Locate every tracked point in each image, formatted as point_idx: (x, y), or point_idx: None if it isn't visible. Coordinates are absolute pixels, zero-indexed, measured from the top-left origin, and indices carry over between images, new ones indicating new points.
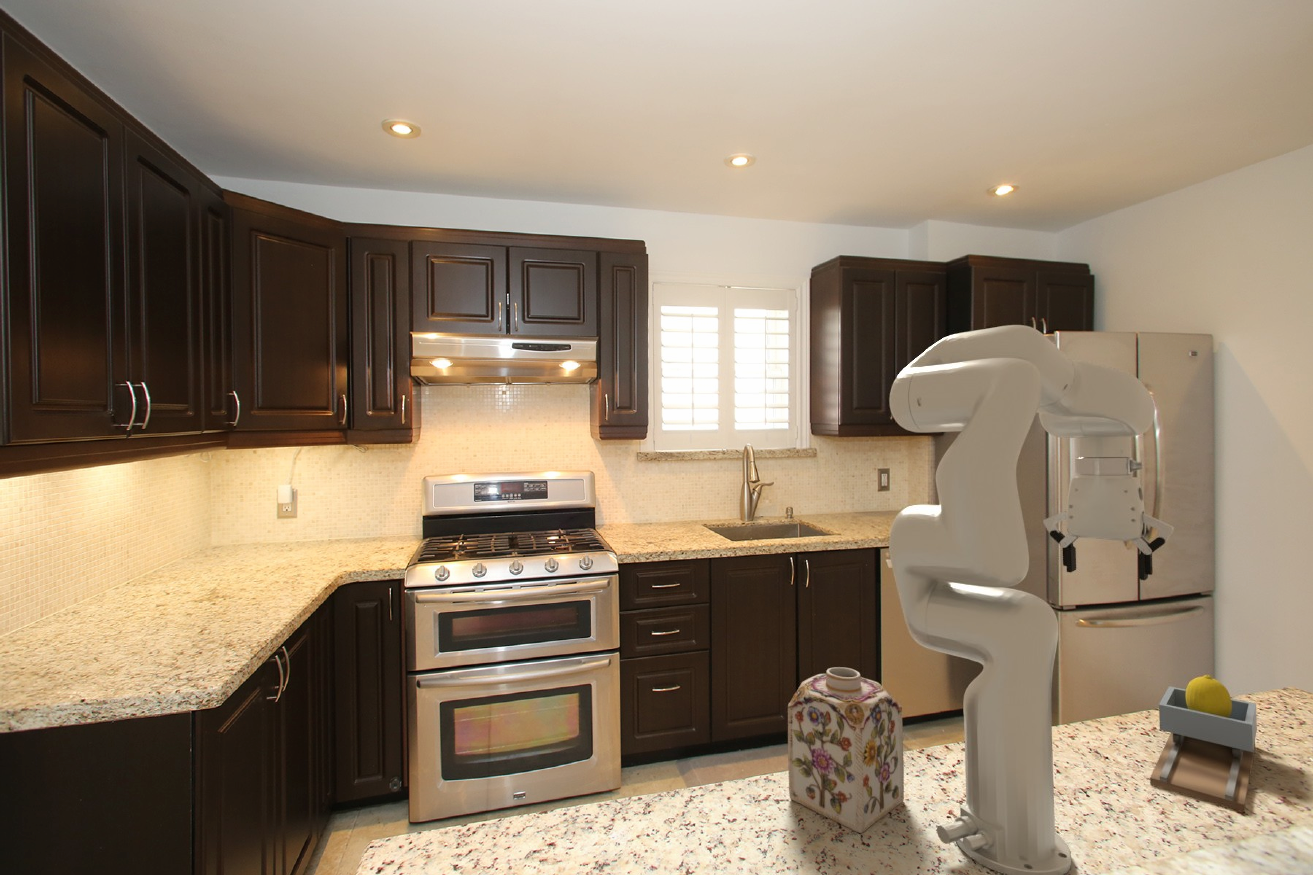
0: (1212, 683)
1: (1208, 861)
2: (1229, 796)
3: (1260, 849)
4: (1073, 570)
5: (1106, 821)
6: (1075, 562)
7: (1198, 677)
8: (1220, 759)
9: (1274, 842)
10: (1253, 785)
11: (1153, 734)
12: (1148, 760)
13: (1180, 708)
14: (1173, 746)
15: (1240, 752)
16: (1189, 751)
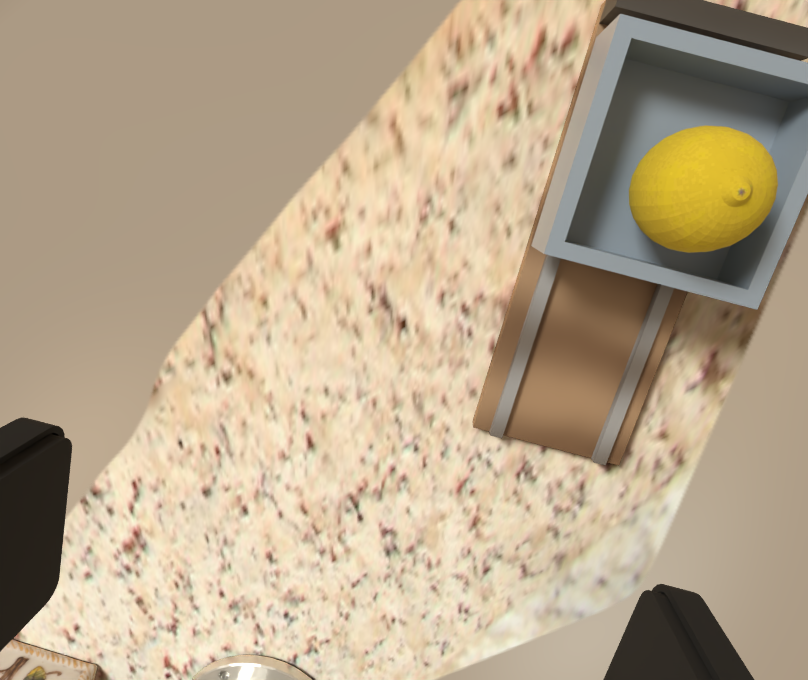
0: (735, 225)
1: (510, 639)
2: (600, 462)
3: (595, 575)
4: (58, 540)
5: (385, 591)
6: (11, 502)
7: (707, 181)
8: None
9: (625, 544)
10: None
11: (530, 100)
12: (488, 294)
13: (597, 260)
14: None
15: None
16: None
